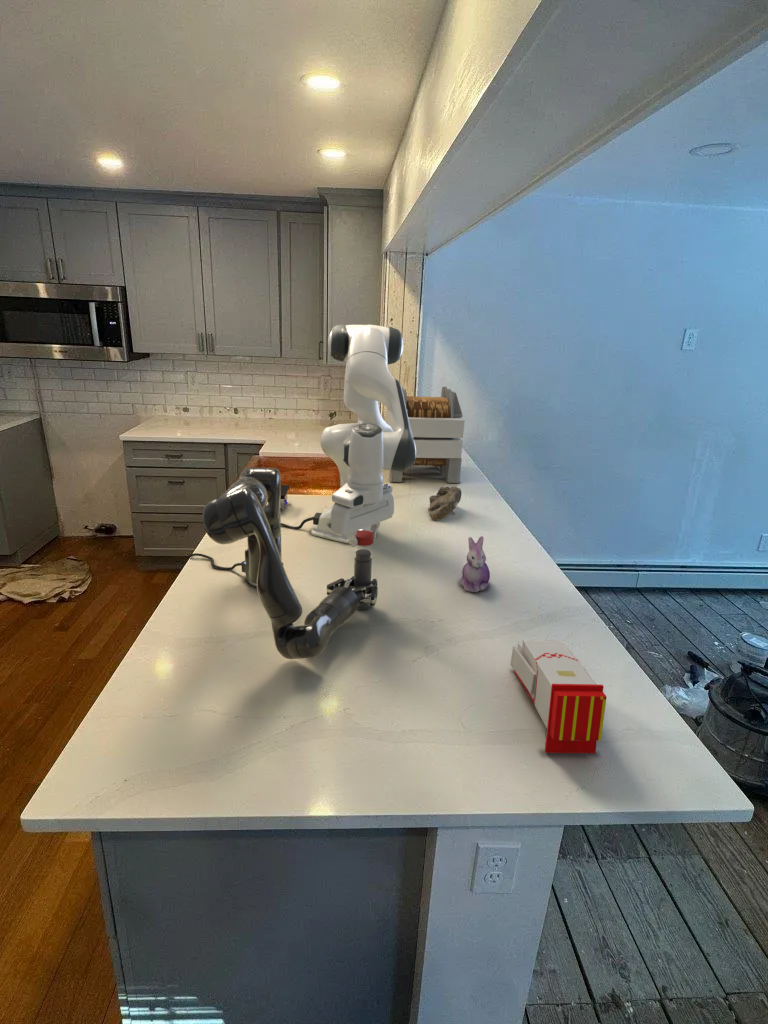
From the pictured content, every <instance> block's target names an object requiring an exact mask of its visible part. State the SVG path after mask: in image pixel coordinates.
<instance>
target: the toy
mask: <svg viewBox="0 0 768 1024" xmlns="http://www.w3.org/2000/svg"><path fill="white" fill-rule="evenodd" d="M510 666H511V667H512V669H513V673H514V674H515V676H516V677H517V680H518V681H519V682H520V684H521V686H522V687H523V689H524V690H525V692H526V694H527V696H528V697H529V699H530V700H531V702H532V703H533V705H534V707H535V710H536V711H537V713H538V714H539V717H540V718H541V720H542V722H543V724H544V726H545V728H546V734H545V735H546V736H545V745H544V752H545V754H596V752H597V743H598V742H601V741H602V737H603V729H604V720H605V713H606V705H607V695H606V693H605V692H604V687H605V686H604V685H603V684H598V683H597V682H596V681H595V679H593V677H592V676H591V674H589V672H588V671H587V670H586V668H585V666H583V664H582V663H581V662H580V661H579V660H578V658H577V656H576V655H575V654H574V653H573V651H572V650H571V649H570V648H569V646H568V645H567V644H566V643H565V642H564V641H563V640H539V639H538V640H537V639H536V640H535V639H534V640H533V639H532V640H530V639H529V640H528V639H523V640H522V641H517V643H516V646H512V652H511V659H510Z"/></svg>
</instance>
